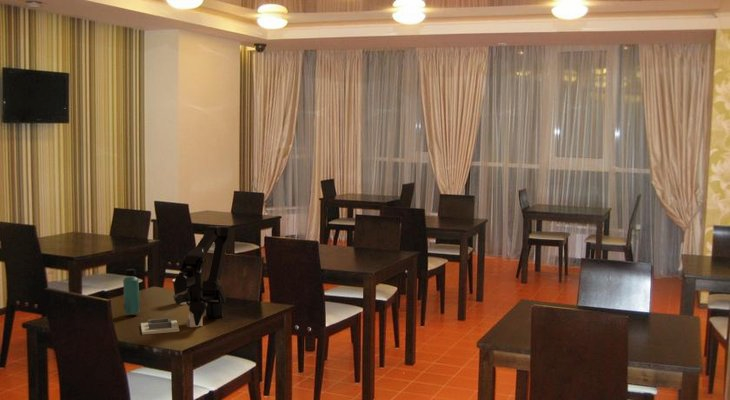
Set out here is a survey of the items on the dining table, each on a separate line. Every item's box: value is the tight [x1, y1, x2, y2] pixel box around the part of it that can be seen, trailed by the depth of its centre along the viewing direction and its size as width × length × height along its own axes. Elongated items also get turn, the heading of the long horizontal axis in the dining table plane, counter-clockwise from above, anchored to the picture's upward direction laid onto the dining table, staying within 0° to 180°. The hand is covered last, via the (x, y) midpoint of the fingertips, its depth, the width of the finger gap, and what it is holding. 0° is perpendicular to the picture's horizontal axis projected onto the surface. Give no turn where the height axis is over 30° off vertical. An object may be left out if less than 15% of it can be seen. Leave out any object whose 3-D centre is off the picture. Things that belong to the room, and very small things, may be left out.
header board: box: [140, 317, 180, 336], centre depth 299 cm, size 14×14×3 cm
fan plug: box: [186, 312, 204, 328], centre depth 303 cm, size 6×4×5 cm, turn 108°
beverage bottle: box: [122, 268, 141, 315], centre depth 318 cm, size 6×7×20 cm
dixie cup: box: [171, 278, 187, 306], centre depth 341 cm, size 8×8×11 cm
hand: (195, 322), depth 303 cm, fingers open, 8 cm apart
